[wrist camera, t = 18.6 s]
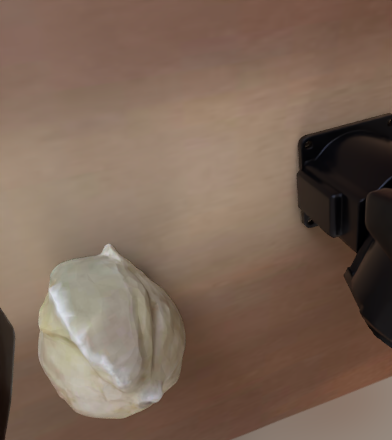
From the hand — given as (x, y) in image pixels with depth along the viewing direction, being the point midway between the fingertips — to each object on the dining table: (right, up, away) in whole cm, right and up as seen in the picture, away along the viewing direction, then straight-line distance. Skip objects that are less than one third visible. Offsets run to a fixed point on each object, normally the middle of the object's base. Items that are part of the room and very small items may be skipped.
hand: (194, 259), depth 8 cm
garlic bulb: (-6, -4, +16) cm, 17 cm away
